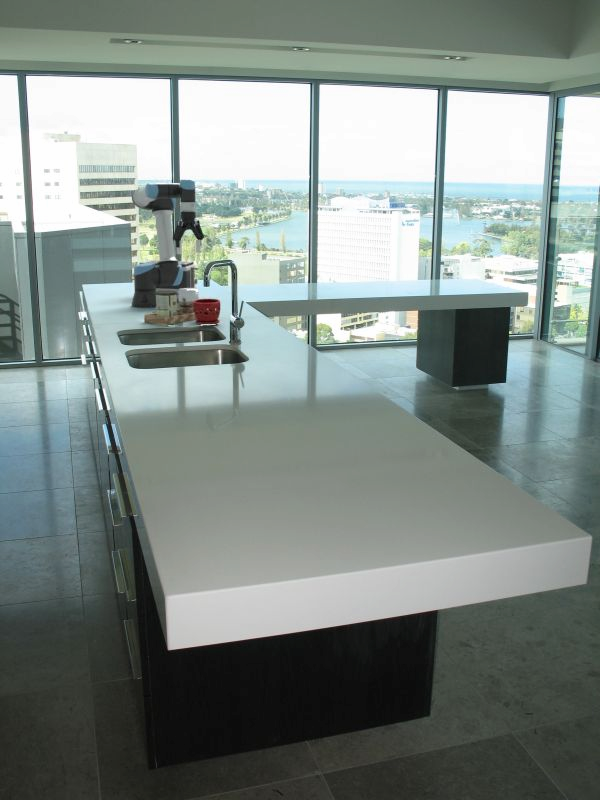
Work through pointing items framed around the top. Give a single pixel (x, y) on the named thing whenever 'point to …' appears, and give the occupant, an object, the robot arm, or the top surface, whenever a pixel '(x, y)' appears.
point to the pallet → (168, 318)
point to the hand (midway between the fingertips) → (188, 253)
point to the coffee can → (166, 303)
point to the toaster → (187, 277)
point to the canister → (187, 299)
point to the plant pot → (206, 311)
